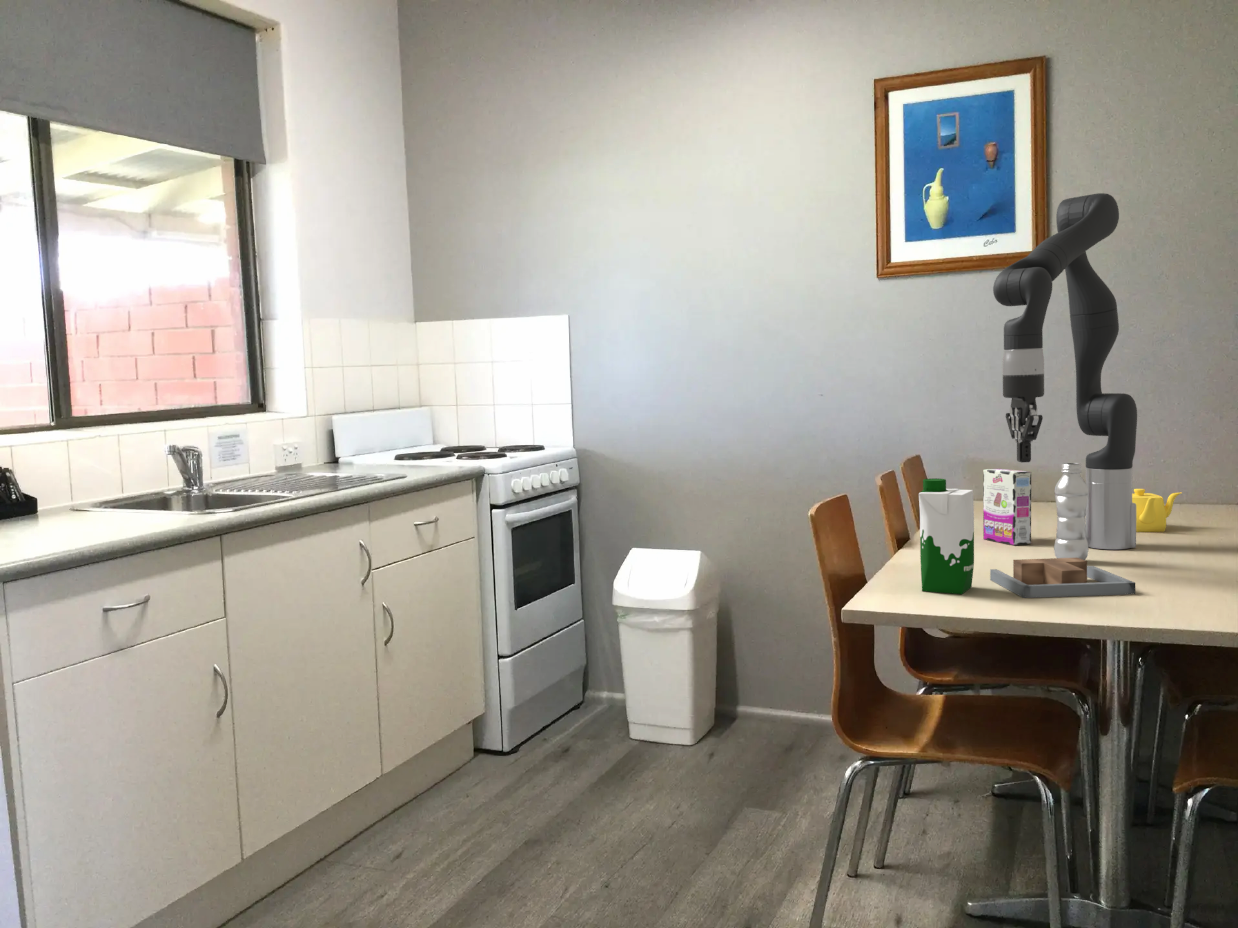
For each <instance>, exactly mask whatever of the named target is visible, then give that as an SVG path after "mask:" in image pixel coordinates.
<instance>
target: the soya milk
mask: <svg viewBox="0 0 1238 928" xmlns="http://www.w3.org/2000/svg"><path fill="white" fill-rule="evenodd" d="M918 501H919V502H918V503H919V538H920V539H919V540H920V541H919V543H920V544H919V545H920V546H919V547H920V551H919V552H920V555H919V556H920V558H919V559H920V576H921V579H920V580H921V591H922V592H928V593H930V592H931V593H940V594H942V593H943V594H954V595H963V594H964V593H965V592H967V591H968V590H969V589H971V588H972V586H973V578H974V577H973V576H974V567H975V517H974V516H975V515H974V514H975V513H974V511H975V510H974V509H975V508H974V506H975V505H974V489H960V488H947V480H946V478H925V479H923V480H922V490H921V491H920V492H919V493H918Z"/></svg>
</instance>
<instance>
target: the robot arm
mask: <svg viewBox="0 0 1238 928" xmlns="http://www.w3.org/2000/svg"><path fill="white" fill-rule="evenodd" d="M1119 219H1120V210H1119V205H1118V203H1117V200H1116V198H1114V196H1112V195H1111V194H1109V193H1104V192H1102V193H1101V192H1100V193H1098V192H1097V193H1094V194H1087V195H1081V196H1075V197H1070V198H1065V199H1062V200H1061V201H1060V202H1059V204H1058V206H1057V210H1056V229H1057V233H1055V234H1052V235H1050V236H1049V237H1047V238H1045V239H1044V240H1043V241H1041V242H1040V243H1039V244H1038V245H1037V246H1036V247H1034V248H1033V250H1031V252H1030V253H1029V254H1028V255H1027V256H1025V257H1023V258H1022V259H1019V260H1018V261H1016V262H1014V263H1012V264H1010V265H1008V266H1007V267H1005V268H1004V269H1002V270H1001V271H1000V272H999V273H998V274H997V276H996V278H995V280H994V283H993V287H992V291H993V296H994V299H995V301H996V302H998V304H1001V305H1002V306H1005V307H1016V306H1017V307H1020V306H1025V308H1024V311H1023V313H1022V314H1021V315H1020V316H1017V317H1015V318H1012V319H1009V320H1007V321H1006V322H1005V323H1004V324H1003V325H1004V326H1003V357H1002V396H1003V397H1004V398H1005V399H1011V402H1010V408H1009V412H1006V413H1005V421H1006V423H1007V426H1008V431H1009V433H1010V437H1011V439H1012V440H1014V442H1015V443H1016V461H1017V462H1019V463H1031V461H1032V451H1031V450H1032V448H1031V447H1032V443H1033V442H1034V441H1036V440H1037V438H1038V434H1039V431H1040V429H1041V425H1042V422H1043V418H1044V417H1043V415H1042V414H1038V406H1037V400H1036V398H1041V397H1044V395H1045V357H1044V349H1043V348H1044V347H1043V346H1044V345H1043V344H1044V343H1043V342H1044V341H1043V340H1044V339H1043V327H1044V323H1045V318H1046V314H1047V311H1048V306H1049V303H1050V300H1051V297H1052V291H1053V281H1055V280H1056V279H1057V278H1058V277H1059V276H1060V274H1061V273H1063V272H1065V278H1066V285H1067V294H1068V295H1067V297H1068V307H1069V308H1068V309H1069V319H1070V328H1071V335H1072V341H1073V343H1072V344H1073V349H1074V350H1073V352H1074V362H1075V363H1074V364H1075V382H1076V383H1075V384H1076V386H1075V389H1076V395H1075V397H1076V398H1075V401H1076V402H1075V403H1076V405H1075V407H1076V418H1077V424H1078V426H1079V429H1080V430H1081V432H1082V433H1083V434H1085V435H1087V436H1093V437H1107V442H1106V445H1104V447H1103V448H1101V449H1099V450H1097V451H1093V452H1091V453H1088V454H1087V455H1086V457H1085V483H1086V484H1087V487H1088V498H1087V505H1086V516H1085V527H1086V539H1087V542H1088V548H1092V549H1101V550H1126V549H1130V548H1132V549H1133V548H1137V532H1136V504H1135V503H1132V493H1133V468H1134V467H1133V462H1134V458H1135V454H1136V444H1137V443H1136V442H1137V441H1136V440H1137V429H1138V428H1137V427H1138V407H1137V404H1136V401H1135V400H1134V397H1132V396H1131V395H1130V394H1128V393H1121V392H1120V393H1118V392H1117V393H1112V392H1111V393H1109V392H1108V393H1103V392H1102V371H1103V368H1104V364H1105V362H1106V360H1107V358H1108V356H1109V354H1110V353H1111V350H1112V348H1113V346H1114V344H1115V343H1116V340H1117V338H1118V335H1119V331H1120V323H1119V315H1118V305H1117V300H1116V298H1115V295H1114V294H1113V291H1111V289H1110V288H1109V286H1107V285H1108V284H1106V283H1105V282H1104V280H1103V279H1102V278H1101V277H1100V276H1099V275H1098V273H1097V272H1096V271H1095V270H1094V267H1092V264H1091V263H1090V261H1089V258H1088V255H1087V251H1088V250H1090V249H1091V248H1092V247H1094V246H1095V245H1097V244H1098V243H1100V242H1101V241H1103V240H1104V239H1106V238H1108V237H1110V235H1112V234H1113V233H1114V232H1115V230H1116V229H1117V227H1118V224H1119V221H1120V220H1119ZM1064 270H1065V271H1064Z"/></svg>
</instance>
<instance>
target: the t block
mask: <svg viewBox="0 0 1238 928" xmlns="http://www.w3.org/2000/svg"><path fill="white" fill-rule="evenodd" d="M1012 563H1013V564H1012V565H1013V567H1012V568H1013V570H1012V572H1013V573H1012V577H1013V578H1015V579H1017V580H1019V581H1021V582H1023V583H1025V584H1027V585H1039V584H1069V583H1088V577H1087V566H1088V561H1087V560H1086V559H1085V560H1082V559H1080V558H1056V557H1055V558H1054V557H1053V558H1030V559H1029V558H1026V559H1013V562H1012Z"/></svg>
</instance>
